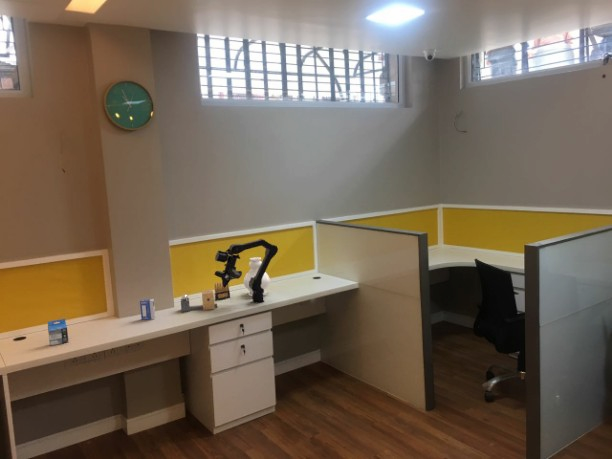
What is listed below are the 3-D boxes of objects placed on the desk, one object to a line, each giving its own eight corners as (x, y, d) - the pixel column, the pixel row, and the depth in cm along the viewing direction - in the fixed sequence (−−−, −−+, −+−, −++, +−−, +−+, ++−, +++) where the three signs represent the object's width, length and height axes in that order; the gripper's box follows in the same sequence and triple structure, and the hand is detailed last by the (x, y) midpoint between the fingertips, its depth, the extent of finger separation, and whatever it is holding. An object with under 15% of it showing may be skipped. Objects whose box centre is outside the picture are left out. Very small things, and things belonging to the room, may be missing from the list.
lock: (214, 305, 342) (212, 290, 340) (214, 308, 334) (213, 293, 332) (202, 306, 340) (201, 291, 339) (203, 310, 332) (202, 294, 331)
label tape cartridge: (50, 346, 279) (47, 323, 277) (49, 344, 282) (46, 321, 281) (68, 342, 284) (66, 320, 282) (67, 340, 287) (65, 318, 285)
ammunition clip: (215, 300, 354) (214, 283, 352) (214, 300, 355) (213, 282, 354) (230, 297, 360) (229, 280, 358) (229, 297, 361) (227, 279, 360)
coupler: (216, 305, 341) (215, 290, 340) (217, 308, 335) (216, 292, 333) (181, 309, 337) (180, 293, 335) (181, 312, 330) (180, 296, 329)
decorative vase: (265, 297, 355) (263, 260, 351) (240, 297, 359) (238, 260, 356) (274, 291, 372) (271, 255, 368) (250, 290, 376) (247, 255, 373)
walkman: (141, 320, 318) (139, 300, 316) (142, 318, 321) (141, 299, 319) (154, 319, 318) (152, 299, 317) (155, 318, 321) (154, 298, 319)
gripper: (230, 267, 324) (223, 291, 326) (249, 268, 340) (242, 291, 341) (217, 261, 330) (210, 285, 332) (236, 263, 346) (230, 285, 347)
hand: (224, 287), depth 338 cm, fingers closed
